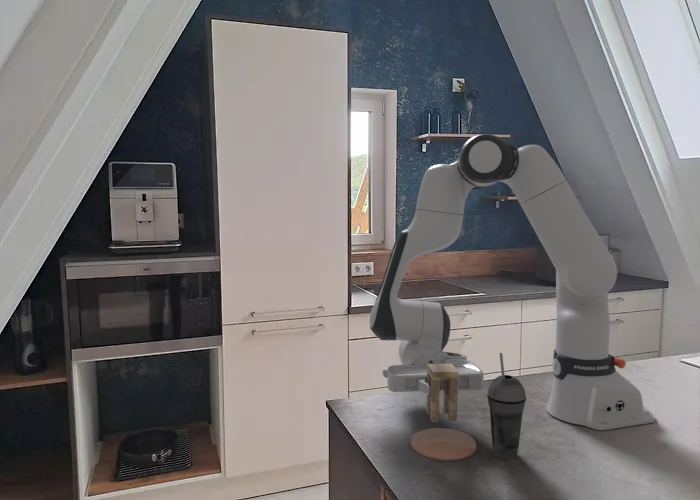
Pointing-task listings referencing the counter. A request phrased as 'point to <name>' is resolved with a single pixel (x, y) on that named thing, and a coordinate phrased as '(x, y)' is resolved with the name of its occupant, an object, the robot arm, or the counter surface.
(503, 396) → the beverage cup
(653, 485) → the counter surface
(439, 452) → the coaster
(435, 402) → the stool
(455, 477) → the counter surface
